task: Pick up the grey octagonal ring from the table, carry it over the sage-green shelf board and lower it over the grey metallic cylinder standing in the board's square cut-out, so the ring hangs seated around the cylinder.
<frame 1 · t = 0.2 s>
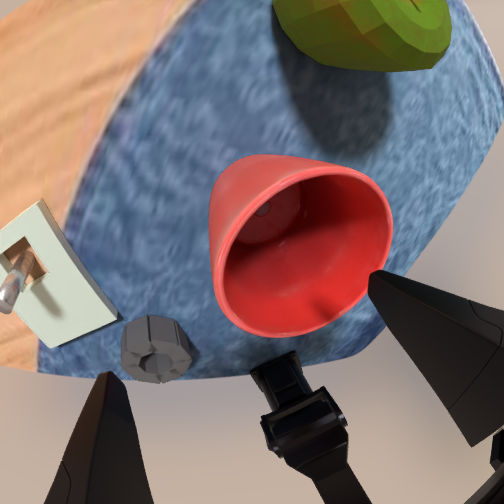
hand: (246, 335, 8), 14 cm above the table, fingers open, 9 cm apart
flower pot: (256, 201, 22), on the table
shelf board: (43, 281, 19), on the table
apple: (321, 14, 15), on the table
grey metallic cylinder: (27, 258, 17), resting in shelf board
grey octagonal ring: (153, 339, 26), on the table
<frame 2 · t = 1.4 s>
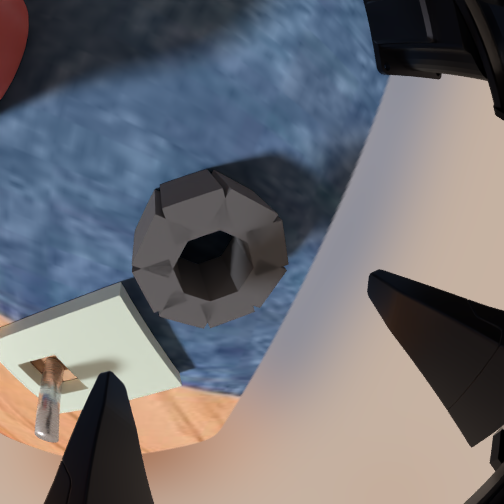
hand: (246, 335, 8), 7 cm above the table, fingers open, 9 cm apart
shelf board: (79, 358, 15), on the table
grey metallic cylinder: (54, 364, 15), resting in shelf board
grey octagonal ring: (201, 234, 14), on the table
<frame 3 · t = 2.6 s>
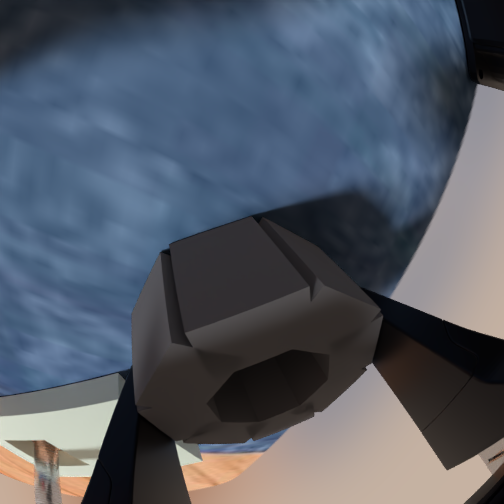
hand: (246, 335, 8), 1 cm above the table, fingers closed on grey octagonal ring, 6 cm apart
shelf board: (75, 435, 10), on the table
grey metallic cylinder: (46, 438, 10), resting in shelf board
grey octagonal ring: (237, 313, 9), on the table, touching gripper
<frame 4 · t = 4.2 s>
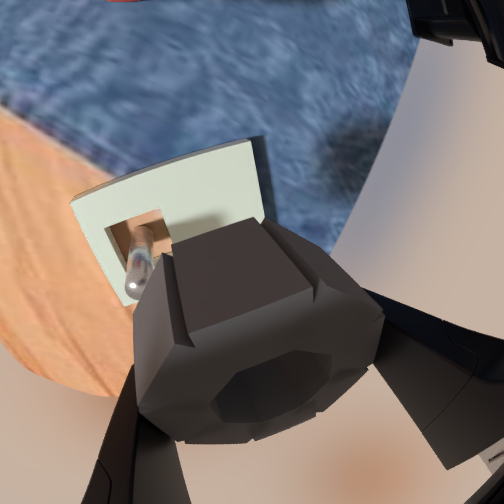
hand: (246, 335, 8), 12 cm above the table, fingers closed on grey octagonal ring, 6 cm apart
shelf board: (175, 224, 19), on the table
grey metallic cylinder: (142, 235, 18), resting in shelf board
grey octagonal ring: (238, 313, 9), point 11 cm above the table, touching gripper
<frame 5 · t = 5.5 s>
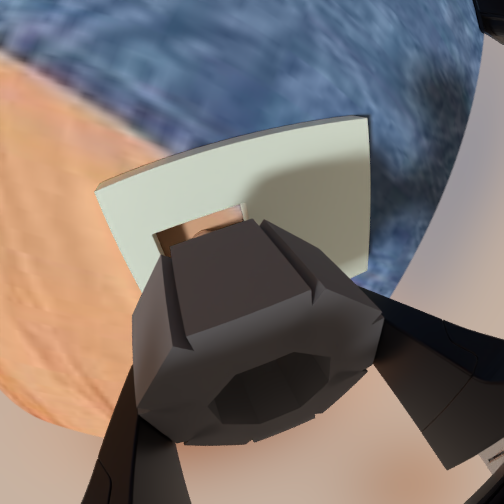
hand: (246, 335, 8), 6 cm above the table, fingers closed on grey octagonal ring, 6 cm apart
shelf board: (256, 228, 13), on the table
grey octagonal ring: (237, 315, 9), point 5 cm above the table, touching gripper
when the fingers open (4 cm above the table, at t = 6.3 s): grey octagonal ring drops 2 cm, resting on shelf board.
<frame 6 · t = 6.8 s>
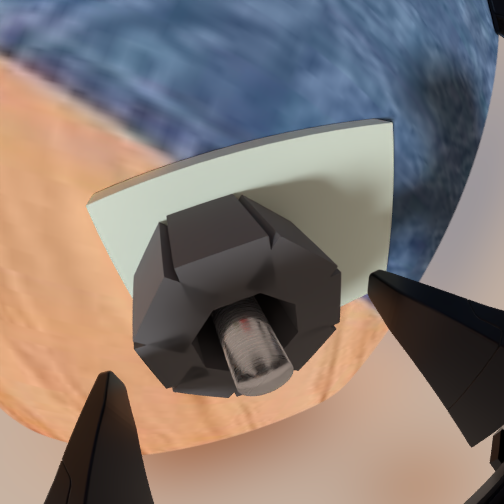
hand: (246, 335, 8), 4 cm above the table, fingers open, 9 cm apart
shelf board: (269, 243, 12), on the table
grey metallic cylinder: (214, 262, 12), resting in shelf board
grey octagonal ring: (222, 279, 11), point 1 cm above the table, touching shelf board
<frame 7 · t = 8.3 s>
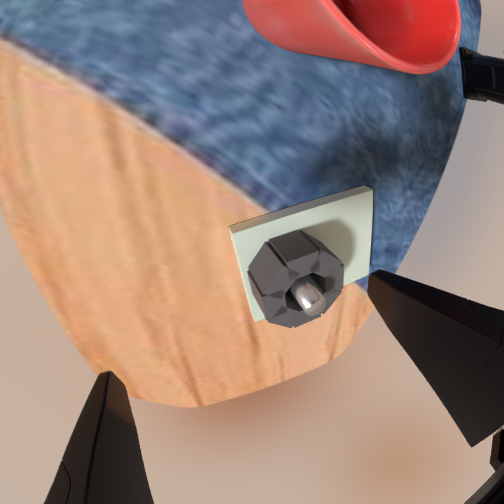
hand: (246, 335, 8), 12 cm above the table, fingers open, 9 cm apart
flower pot: (296, 7, 13), on the table
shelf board: (307, 251, 23), on the table
grey metallic cylinder: (281, 260, 23), resting in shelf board
grey octagonal ring: (287, 268, 22), point 1 cm above the table, touching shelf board
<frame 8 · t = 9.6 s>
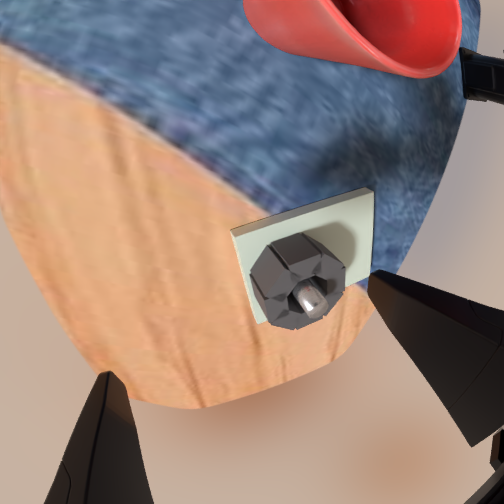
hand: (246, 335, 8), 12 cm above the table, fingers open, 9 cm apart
flower pot: (296, 9, 13), on the table
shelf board: (309, 253, 23), on the table
grey metallic cylinder: (282, 263, 23), resting in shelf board
grey octagonal ring: (289, 271, 22), point 1 cm above the table, touching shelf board
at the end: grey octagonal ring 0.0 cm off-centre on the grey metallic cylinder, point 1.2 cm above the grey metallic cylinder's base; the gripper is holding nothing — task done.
